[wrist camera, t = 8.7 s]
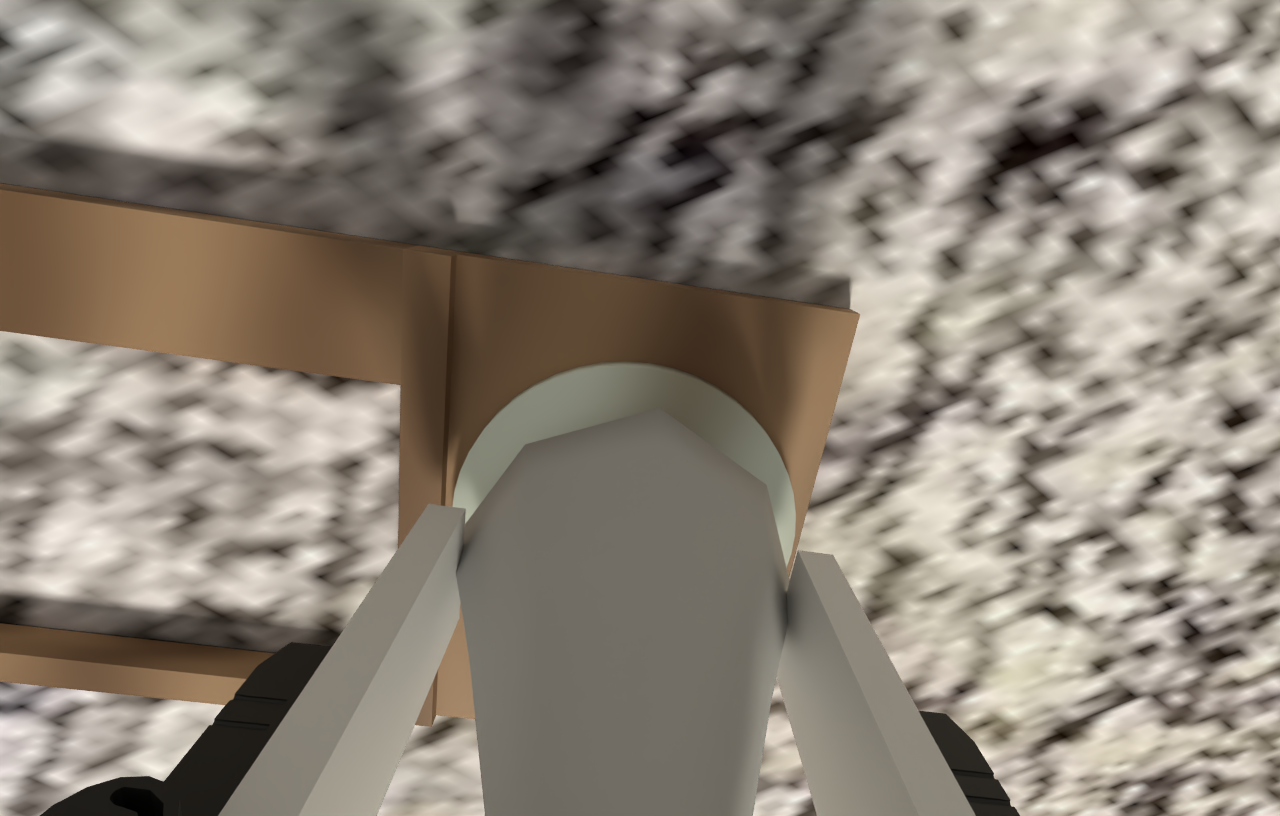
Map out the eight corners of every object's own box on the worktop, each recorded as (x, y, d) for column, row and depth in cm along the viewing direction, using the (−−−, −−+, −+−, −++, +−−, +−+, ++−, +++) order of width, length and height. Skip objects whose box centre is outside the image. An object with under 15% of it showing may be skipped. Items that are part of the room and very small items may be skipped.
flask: (671, 343, 12) (800, 895, 2) (842, 595, 14) (1276, 1429, 4) (397, 525, 13) (-190, 1332, 4) (590, 730, 15) (516, 1596, 6)
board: (850, 309, 14) (868, 318, 13) (739, 730, 18) (746, 762, 17) (-351, 131, 13) (-439, 125, 12) (-168, 633, 17) (-220, 661, 16)
